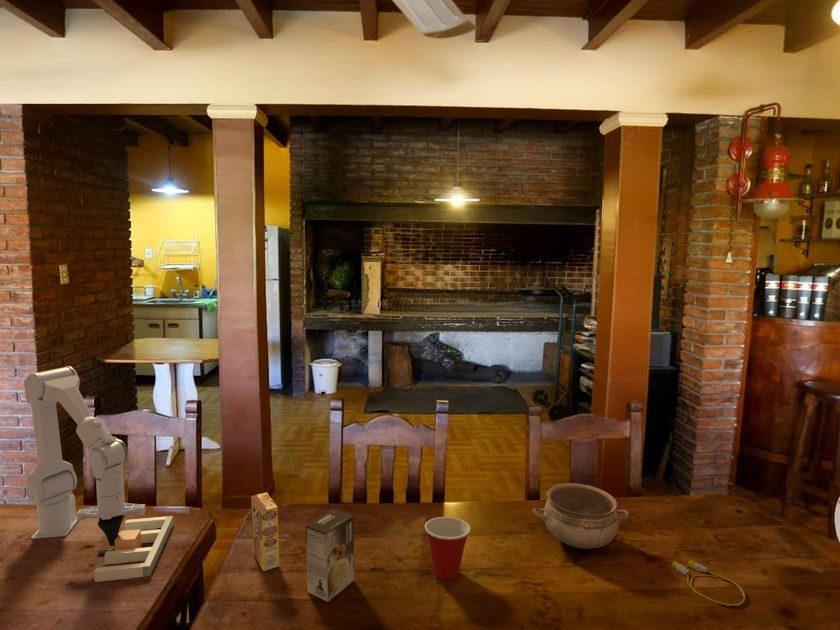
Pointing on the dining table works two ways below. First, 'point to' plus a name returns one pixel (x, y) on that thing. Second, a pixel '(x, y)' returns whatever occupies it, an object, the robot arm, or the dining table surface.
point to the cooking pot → (581, 515)
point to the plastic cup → (446, 545)
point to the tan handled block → (126, 541)
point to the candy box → (265, 531)
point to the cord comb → (137, 551)
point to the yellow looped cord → (703, 569)
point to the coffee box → (330, 554)
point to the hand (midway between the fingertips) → (113, 543)
